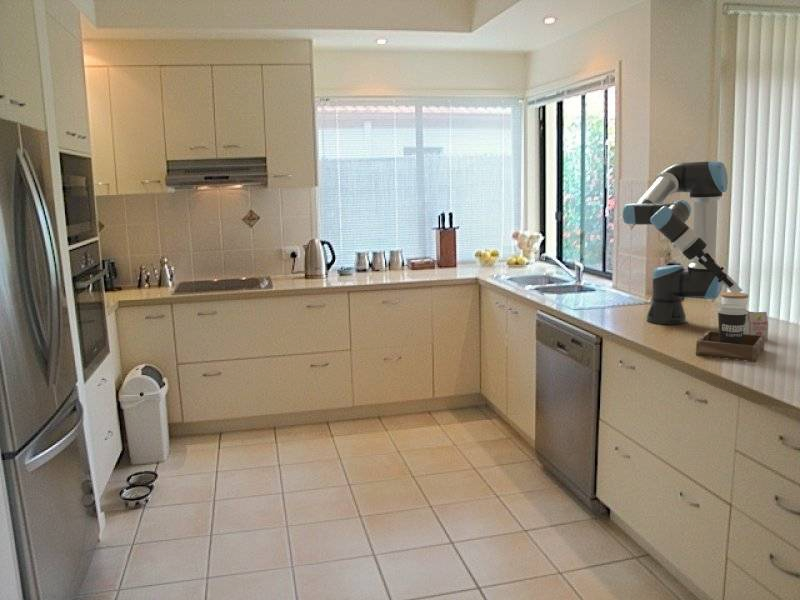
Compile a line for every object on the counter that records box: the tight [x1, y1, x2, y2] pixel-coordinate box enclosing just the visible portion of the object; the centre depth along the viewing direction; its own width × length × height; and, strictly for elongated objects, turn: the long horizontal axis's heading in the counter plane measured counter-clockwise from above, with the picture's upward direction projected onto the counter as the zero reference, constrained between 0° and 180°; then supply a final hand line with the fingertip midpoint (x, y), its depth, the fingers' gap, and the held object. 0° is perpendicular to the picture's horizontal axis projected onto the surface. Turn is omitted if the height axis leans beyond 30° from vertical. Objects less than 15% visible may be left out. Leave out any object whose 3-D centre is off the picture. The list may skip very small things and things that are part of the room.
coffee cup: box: [716, 303, 749, 345], centre depth 232 cm, size 10×10×15 cm
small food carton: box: [743, 311, 769, 341], centre depth 252 cm, size 4×7×10 cm, turn 90°
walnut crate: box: [695, 330, 765, 363], centre depth 233 cm, size 18×18×5 cm
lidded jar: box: [720, 291, 749, 307], centre depth 303 cm, size 11×11×9 cm
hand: (736, 289), depth 230 cm, fingers open, 13 cm apart
